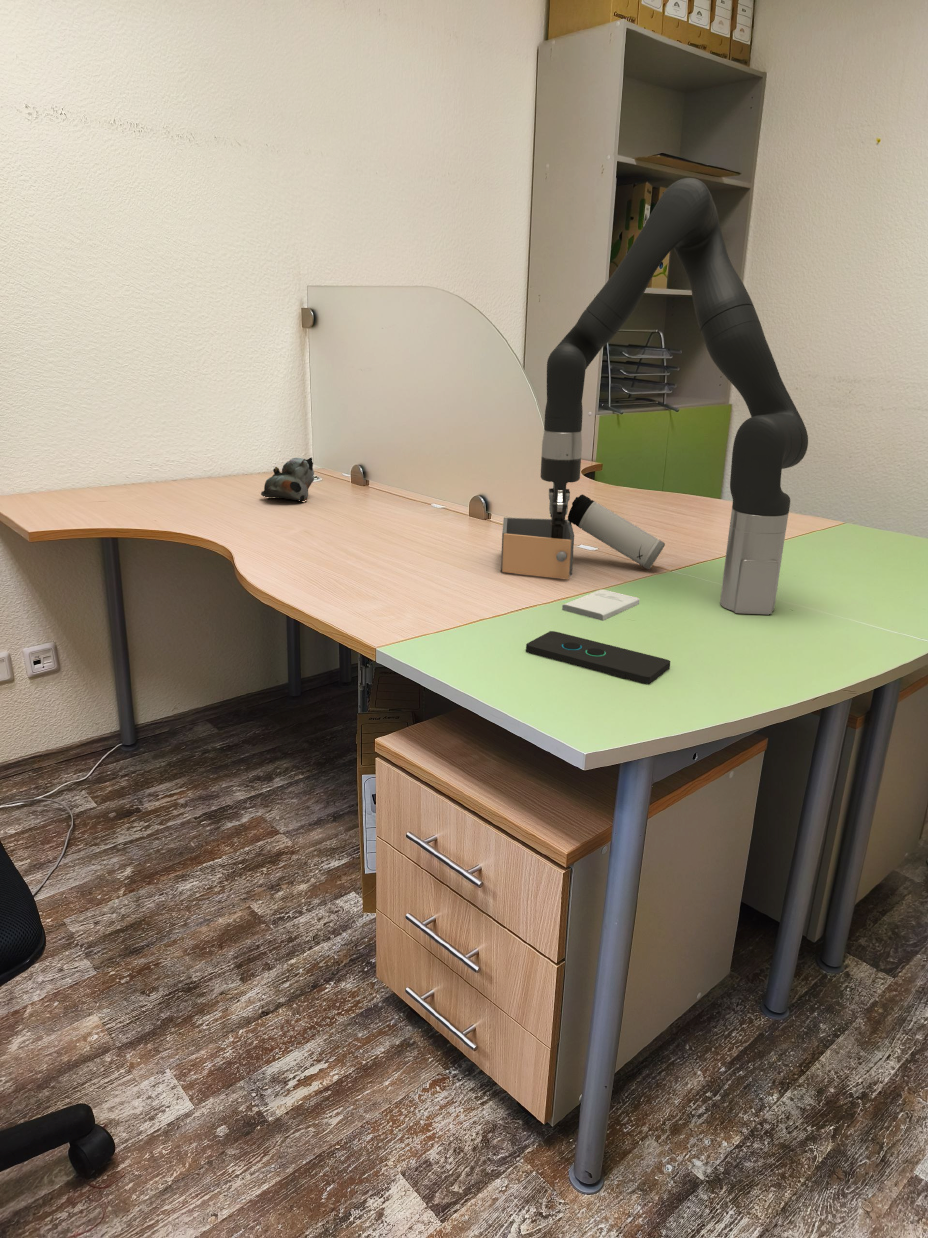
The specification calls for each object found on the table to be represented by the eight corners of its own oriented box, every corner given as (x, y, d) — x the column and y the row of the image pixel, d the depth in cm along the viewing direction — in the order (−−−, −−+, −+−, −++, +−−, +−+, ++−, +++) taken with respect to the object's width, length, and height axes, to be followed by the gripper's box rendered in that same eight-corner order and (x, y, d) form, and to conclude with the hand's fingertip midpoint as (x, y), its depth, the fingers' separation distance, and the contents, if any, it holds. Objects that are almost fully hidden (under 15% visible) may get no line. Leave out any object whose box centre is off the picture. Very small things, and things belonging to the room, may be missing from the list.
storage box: (571, 574, 164) (574, 535, 162) (500, 572, 165) (502, 532, 163) (568, 556, 178) (570, 519, 175) (502, 554, 178) (503, 517, 176)
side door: (566, 581, 159) (569, 542, 156) (500, 573, 163) (501, 535, 160) (569, 578, 161) (571, 539, 158) (503, 570, 165) (504, 533, 162)
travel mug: (651, 563, 164) (566, 511, 168) (646, 573, 170) (563, 523, 174) (668, 538, 165) (582, 487, 169) (662, 549, 172) (580, 500, 175)
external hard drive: (561, 612, 144) (599, 596, 153) (602, 623, 139) (639, 606, 148) (562, 603, 144) (600, 588, 153) (603, 614, 139) (640, 597, 148)
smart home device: (551, 629, 131) (672, 659, 120) (551, 639, 131) (671, 670, 121) (524, 643, 125) (648, 677, 114) (523, 654, 125) (647, 688, 114)
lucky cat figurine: (257, 496, 231) (274, 450, 232) (299, 512, 235) (314, 466, 236) (264, 490, 217) (282, 441, 218) (308, 507, 221) (325, 458, 222)
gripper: (583, 460, 151) (577, 553, 157) (579, 450, 164) (573, 536, 170) (542, 459, 152) (537, 551, 158) (541, 449, 164) (536, 535, 170)
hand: (556, 543), depth 164 cm, fingers closed
